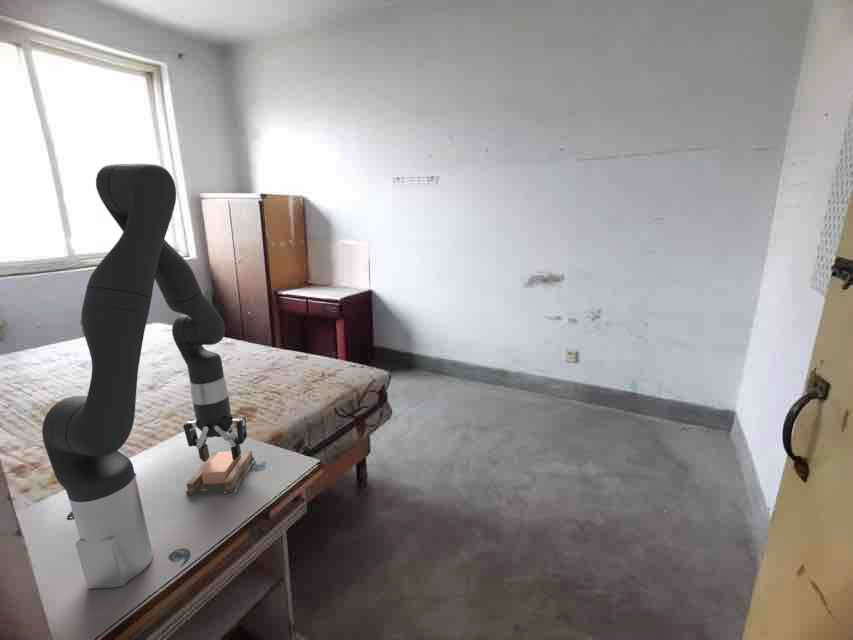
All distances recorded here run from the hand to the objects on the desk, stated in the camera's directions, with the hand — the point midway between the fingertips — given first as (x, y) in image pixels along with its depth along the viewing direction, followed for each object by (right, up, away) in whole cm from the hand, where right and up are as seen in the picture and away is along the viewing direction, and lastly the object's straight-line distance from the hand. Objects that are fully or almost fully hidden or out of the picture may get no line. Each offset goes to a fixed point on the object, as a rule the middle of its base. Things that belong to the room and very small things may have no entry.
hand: (221, 458), depth 100 cm
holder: (0, -5, +1) cm, 5 cm away
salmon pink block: (0, -4, +1) cm, 4 cm away
